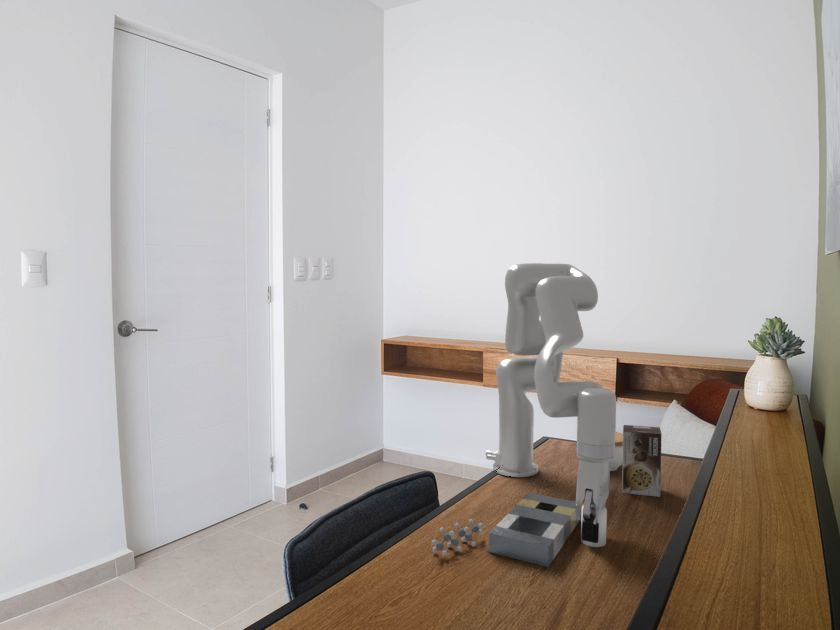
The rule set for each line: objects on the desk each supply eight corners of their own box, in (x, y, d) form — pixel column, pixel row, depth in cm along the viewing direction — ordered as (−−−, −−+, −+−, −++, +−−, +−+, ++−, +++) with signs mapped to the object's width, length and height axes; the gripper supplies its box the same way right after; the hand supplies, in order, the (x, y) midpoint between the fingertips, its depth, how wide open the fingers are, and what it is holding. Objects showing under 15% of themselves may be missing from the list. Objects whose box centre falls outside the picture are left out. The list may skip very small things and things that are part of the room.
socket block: (489, 552, 116) (489, 532, 116) (528, 509, 137) (528, 492, 137) (548, 567, 110) (548, 546, 110) (580, 519, 131) (580, 502, 131)
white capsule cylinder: (578, 543, 120) (578, 510, 120) (584, 533, 124) (584, 502, 124) (603, 549, 118) (603, 515, 117) (608, 539, 122) (609, 506, 121)
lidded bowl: (584, 473, 161) (585, 434, 160) (578, 459, 174) (579, 422, 173) (632, 475, 159) (633, 436, 159) (622, 460, 172) (623, 424, 171)
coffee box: (659, 488, 150) (661, 427, 149) (660, 497, 144) (662, 433, 143) (621, 484, 153) (623, 423, 152) (621, 493, 147) (623, 430, 146)
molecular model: (439, 563, 112) (439, 538, 112) (425, 555, 115) (425, 530, 115) (488, 542, 121) (489, 518, 120) (474, 535, 124) (474, 512, 124)
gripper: (587, 436, 129) (585, 516, 130) (565, 458, 114) (564, 548, 115) (622, 441, 125) (620, 523, 127) (605, 464, 110) (603, 557, 112)
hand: (593, 534), depth 121 cm, fingers open, 5 cm apart
